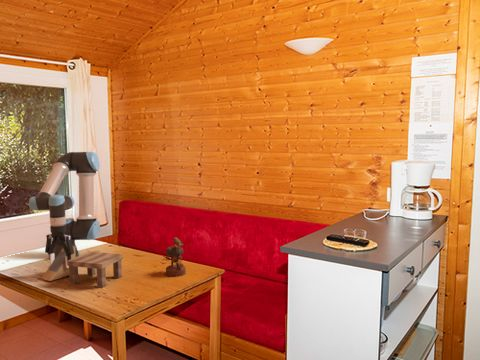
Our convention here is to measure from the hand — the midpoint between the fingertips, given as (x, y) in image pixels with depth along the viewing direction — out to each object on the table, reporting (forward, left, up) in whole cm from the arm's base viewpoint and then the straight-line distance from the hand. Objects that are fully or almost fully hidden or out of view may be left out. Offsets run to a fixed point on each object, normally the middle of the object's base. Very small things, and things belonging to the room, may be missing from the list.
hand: (60, 266), depth 220 cm
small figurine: (+56, +21, -6) cm, 60 cm away
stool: (+22, 0, -5) cm, 23 cm away
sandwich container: (0, -1, -5) cm, 5 cm away
